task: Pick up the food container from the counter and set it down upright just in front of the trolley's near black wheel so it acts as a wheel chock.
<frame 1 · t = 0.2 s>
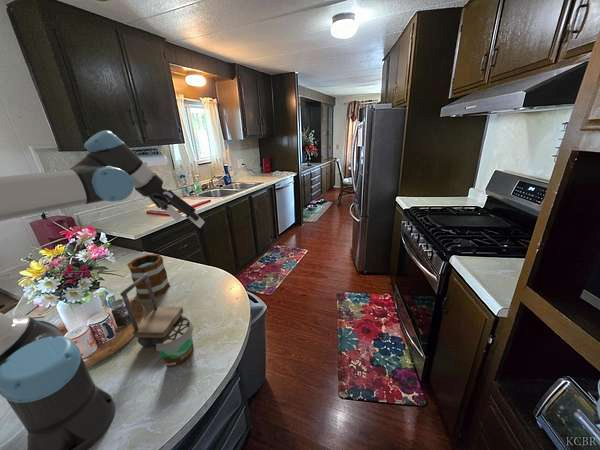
hand: (190, 221, 89), 35 cm above the countertop, tool tilted 35°, fingers open, 13 cm apart
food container: (185, 355, 76), on the countertop
trolley: (163, 335, 84), on the countertop
mug: (155, 286, 113), on the countertop
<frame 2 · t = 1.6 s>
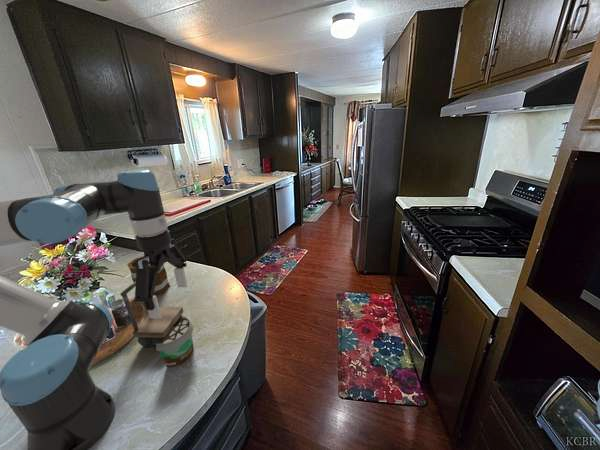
hand: (170, 300, 69), 21 cm above the countertop, tool pointing down, fingers open, 13 cm apart
nothing on the countertop moved.
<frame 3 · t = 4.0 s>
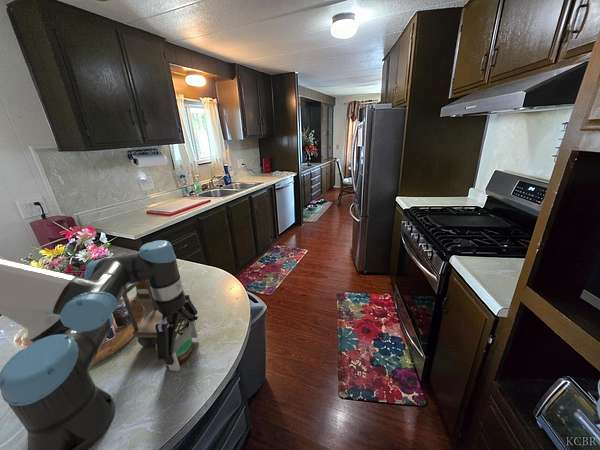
hand: (185, 352, 76), 1 cm above the countertop, tool pointing down, fingers closed on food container, 11 cm apart
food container: (185, 356, 76), on the countertop, touching gripper
everything else where it was.
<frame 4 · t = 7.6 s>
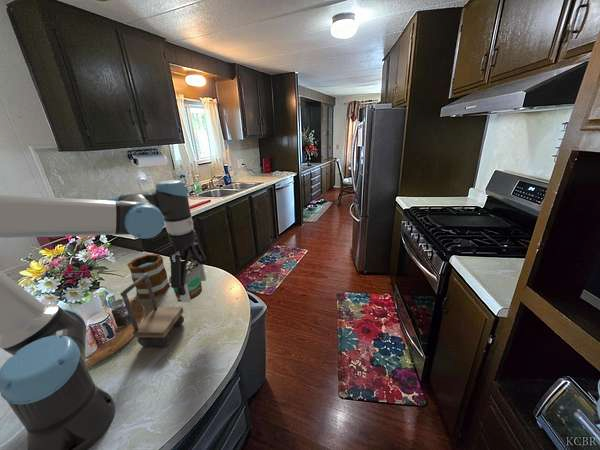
hand: (194, 290, 82), 15 cm above the countertop, tool pointing down, fingers closed on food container, 11 cm apart
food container: (195, 294, 83), point 14 cm above the countertop, touching gripper
everything else where it was.
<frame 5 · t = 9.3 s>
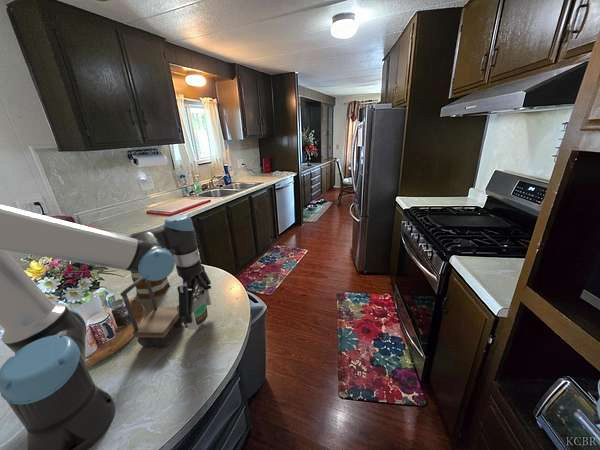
hand: (200, 315, 86), 4 cm above the countertop, tool pointing down, fingers closed on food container, 11 cm apart
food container: (201, 319, 86), point 3 cm above the countertop, touching gripper
everything else where it was.
when the fingers open (3 cm above the countertop, at t = 10.8 s): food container drops 1 cm, on the countertop.
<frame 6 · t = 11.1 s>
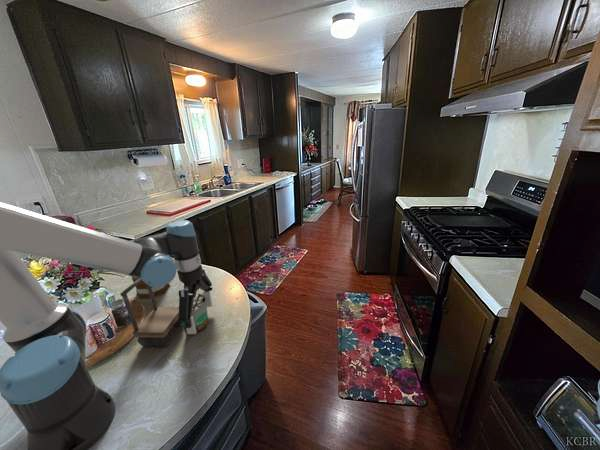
hand: (201, 318, 87), 3 cm above the countertop, tool pointing down, fingers open, 13 cm apart
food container: (201, 327, 88), on the countertop
everything else where it was.
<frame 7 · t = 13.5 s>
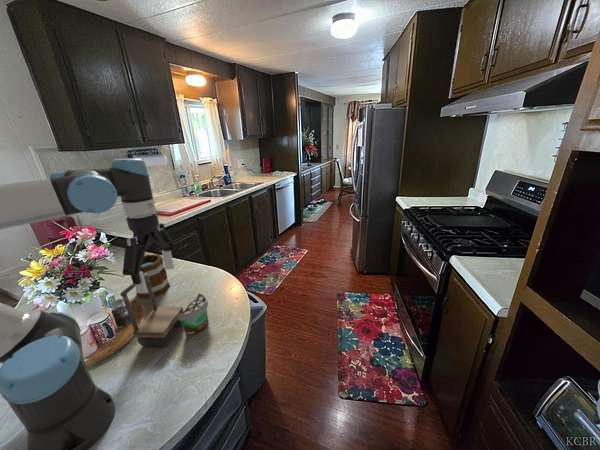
hand: (157, 279, 76), 23 cm above the countertop, tool pointing down, fingers open, 13 cm apart
nothing on the countertop moved.
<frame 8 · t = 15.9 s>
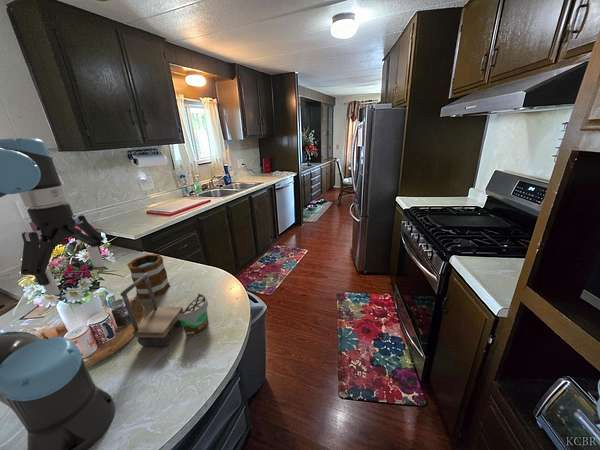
hand: (78, 278, 67), 29 cm above the countertop, tool pointing down, fingers open, 13 cm apart
nothing on the countertop moved.
at the end: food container 1.0 cm from the target spot on the countertop beside the trolley, on the countertop; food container tilted 0°; the gripper is holding nothing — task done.
